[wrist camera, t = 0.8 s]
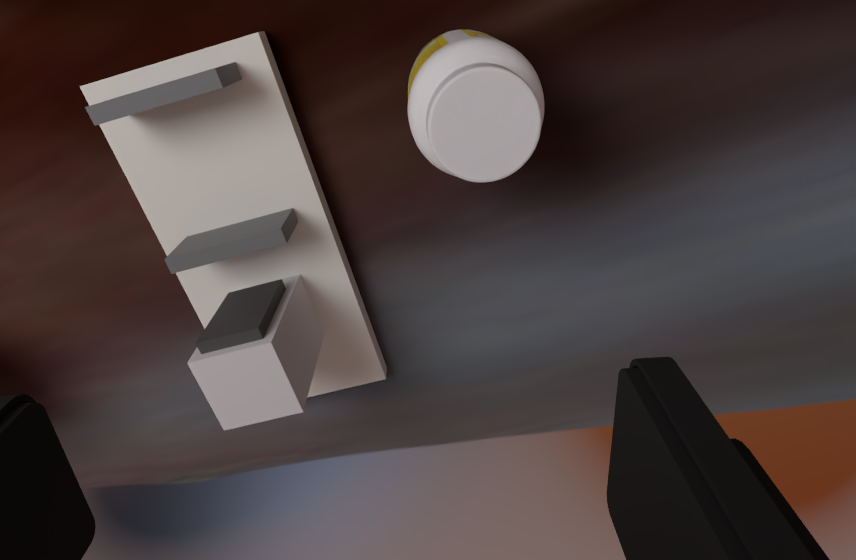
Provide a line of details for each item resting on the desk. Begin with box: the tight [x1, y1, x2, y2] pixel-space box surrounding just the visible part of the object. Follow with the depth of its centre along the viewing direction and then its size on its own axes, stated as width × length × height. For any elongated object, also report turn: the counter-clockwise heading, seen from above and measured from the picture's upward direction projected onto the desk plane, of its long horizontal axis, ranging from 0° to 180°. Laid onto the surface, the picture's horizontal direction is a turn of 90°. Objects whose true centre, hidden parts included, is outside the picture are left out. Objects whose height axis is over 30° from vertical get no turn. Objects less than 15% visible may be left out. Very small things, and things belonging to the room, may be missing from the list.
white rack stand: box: [80, 31, 387, 430], centre depth 28 cm, size 9×20×8 cm, turn 15°
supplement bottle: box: [408, 29, 544, 182], centre depth 24 cm, size 5×5×10 cm
